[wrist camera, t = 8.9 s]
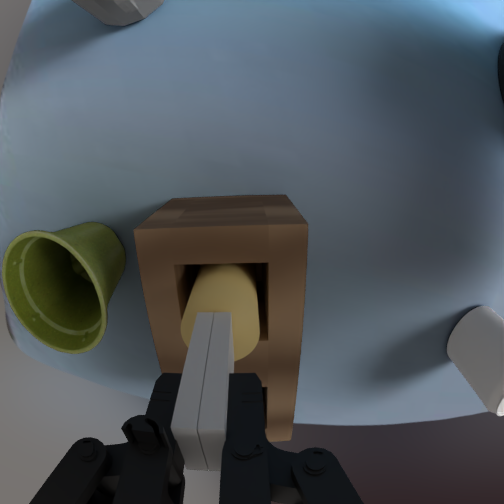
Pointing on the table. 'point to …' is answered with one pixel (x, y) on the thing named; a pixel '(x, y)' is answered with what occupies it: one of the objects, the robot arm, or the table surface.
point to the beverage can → (481, 355)
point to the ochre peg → (226, 302)
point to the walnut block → (222, 252)
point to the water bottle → (119, 10)
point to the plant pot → (64, 283)
